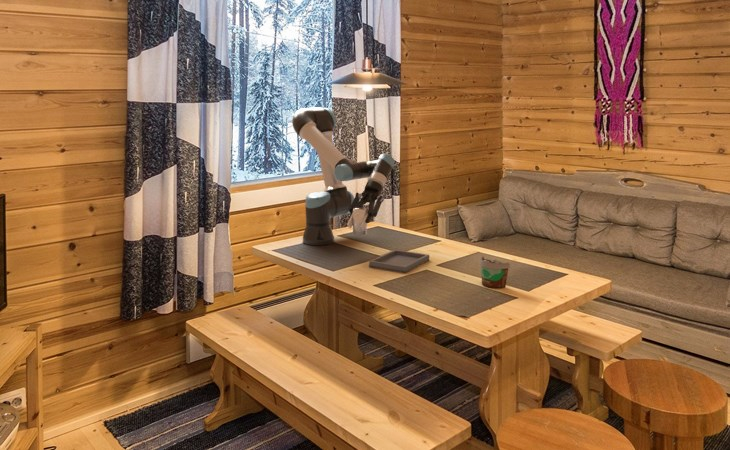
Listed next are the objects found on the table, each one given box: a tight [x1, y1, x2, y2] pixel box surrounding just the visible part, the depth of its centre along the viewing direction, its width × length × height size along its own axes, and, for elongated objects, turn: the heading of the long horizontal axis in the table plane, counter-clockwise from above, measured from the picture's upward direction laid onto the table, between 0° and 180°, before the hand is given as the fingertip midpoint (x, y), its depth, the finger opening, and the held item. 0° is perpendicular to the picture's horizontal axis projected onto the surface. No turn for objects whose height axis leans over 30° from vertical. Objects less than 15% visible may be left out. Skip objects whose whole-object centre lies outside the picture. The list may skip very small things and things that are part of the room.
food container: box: [478, 256, 511, 290], centre depth 235 cm, size 12×6×10 cm, turn 45°
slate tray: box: [368, 249, 430, 274], centre depth 266 cm, size 17×22×2 cm
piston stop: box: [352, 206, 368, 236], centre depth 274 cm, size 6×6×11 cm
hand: (355, 227), depth 271 cm, fingers closed on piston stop, 6 cm apart
